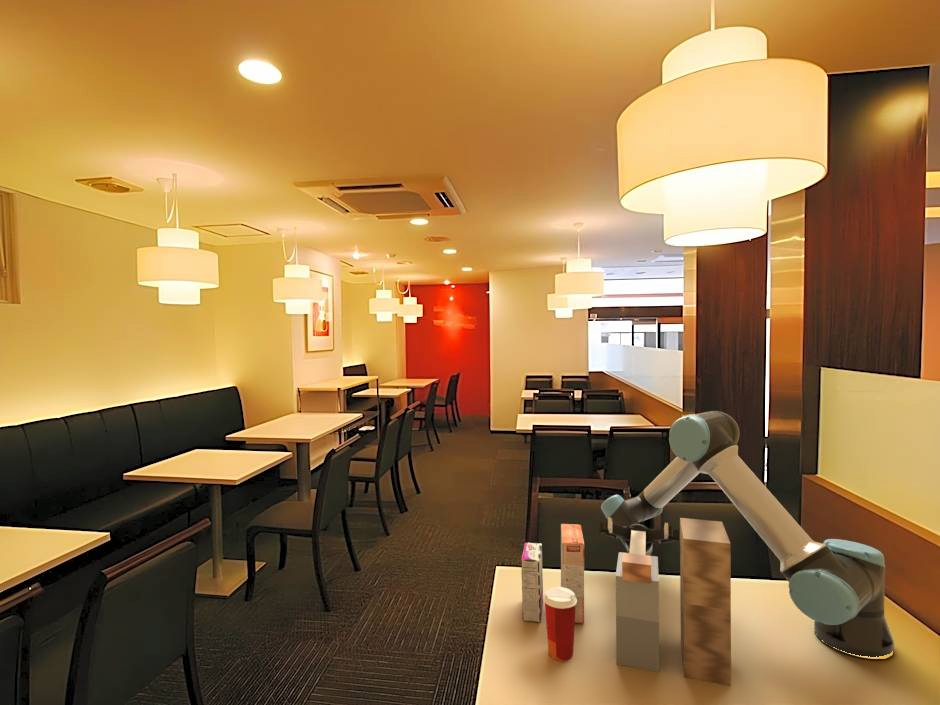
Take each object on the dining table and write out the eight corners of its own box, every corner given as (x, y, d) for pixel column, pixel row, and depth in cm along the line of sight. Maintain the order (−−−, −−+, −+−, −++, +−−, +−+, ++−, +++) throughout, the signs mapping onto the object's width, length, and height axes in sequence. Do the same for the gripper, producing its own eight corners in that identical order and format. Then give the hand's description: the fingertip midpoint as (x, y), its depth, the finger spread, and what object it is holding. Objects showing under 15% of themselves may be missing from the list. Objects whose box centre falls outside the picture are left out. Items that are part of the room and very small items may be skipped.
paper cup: (582, 649, 119) (581, 590, 118) (571, 668, 112) (570, 605, 112) (550, 639, 123) (549, 582, 122) (538, 657, 116) (537, 597, 116)
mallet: (650, 543, 130) (650, 528, 130) (651, 583, 109) (651, 565, 109) (626, 541, 132) (626, 526, 132) (622, 579, 111) (622, 561, 111)
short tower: (658, 638, 123) (657, 556, 122) (659, 672, 110) (658, 581, 110) (619, 631, 126) (618, 552, 125) (616, 663, 113) (615, 575, 113)
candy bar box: (525, 599, 142) (524, 541, 141) (543, 601, 141) (542, 542, 140) (521, 621, 131) (520, 558, 131) (541, 623, 130) (540, 560, 130)
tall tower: (722, 649, 118) (722, 521, 117) (730, 685, 106) (730, 543, 105) (680, 642, 121) (679, 517, 120) (684, 676, 109) (683, 538, 108)
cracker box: (585, 624, 129) (585, 543, 128) (561, 623, 130) (560, 542, 129) (582, 596, 143) (581, 523, 142) (560, 595, 144) (559, 522, 143)
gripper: (686, 559, 139) (692, 547, 121) (593, 548, 147) (586, 535, 129) (685, 530, 142) (691, 515, 125) (594, 521, 150) (587, 505, 133)
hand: (637, 525), depth 127 cm, fingers open, 13 cm apart
